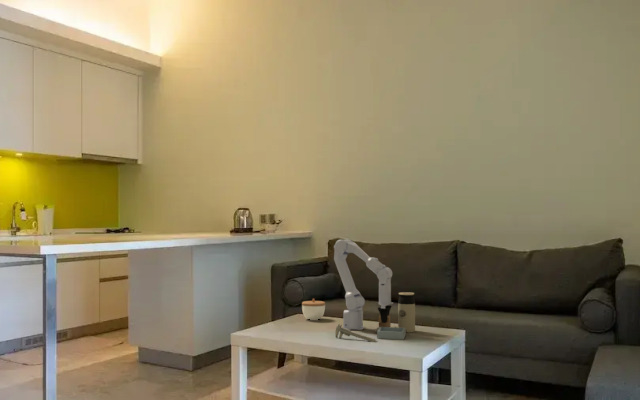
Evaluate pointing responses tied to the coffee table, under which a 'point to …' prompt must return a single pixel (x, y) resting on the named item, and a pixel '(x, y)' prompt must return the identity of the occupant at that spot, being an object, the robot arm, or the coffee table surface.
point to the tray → (391, 333)
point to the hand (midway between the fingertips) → (384, 321)
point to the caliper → (349, 332)
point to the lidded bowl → (313, 309)
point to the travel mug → (406, 311)
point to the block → (386, 322)
